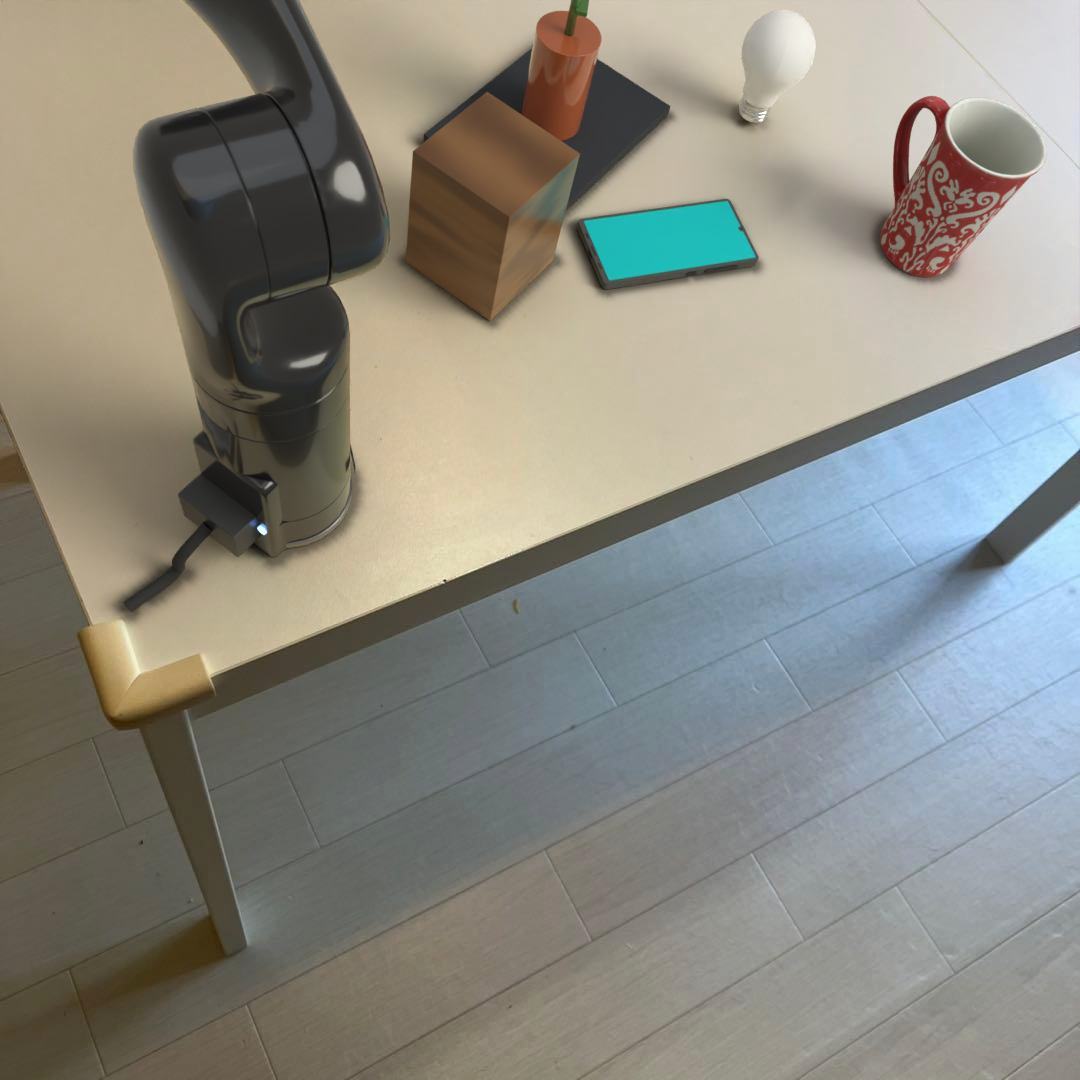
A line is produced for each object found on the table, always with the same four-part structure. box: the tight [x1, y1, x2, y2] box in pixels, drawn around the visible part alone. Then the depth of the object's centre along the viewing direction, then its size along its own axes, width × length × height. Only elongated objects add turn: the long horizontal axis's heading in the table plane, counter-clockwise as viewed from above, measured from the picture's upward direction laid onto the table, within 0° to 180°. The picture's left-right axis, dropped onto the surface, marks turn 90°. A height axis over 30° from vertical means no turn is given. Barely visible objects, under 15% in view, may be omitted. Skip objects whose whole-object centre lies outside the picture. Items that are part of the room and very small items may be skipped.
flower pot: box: [521, 0, 602, 141], centre depth 85 cm, size 6×6×20 cm
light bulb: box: [738, 9, 817, 124], centre depth 95 cm, size 7×7×11 cm
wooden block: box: [405, 92, 580, 322], centre depth 81 cm, size 9×9×12 cm
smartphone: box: [576, 198, 759, 290], centre depth 90 cm, size 7×1×15 cm
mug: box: [879, 95, 1047, 278], centre depth 91 cm, size 13×9×14 cm
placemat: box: [422, 48, 671, 213], centre depth 94 cm, size 20×14×1 cm
